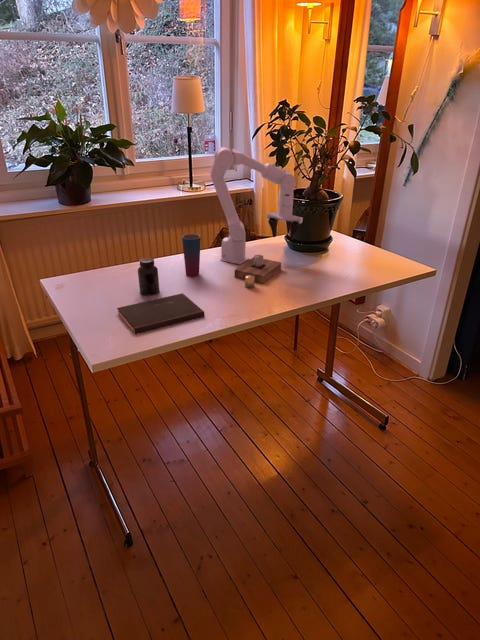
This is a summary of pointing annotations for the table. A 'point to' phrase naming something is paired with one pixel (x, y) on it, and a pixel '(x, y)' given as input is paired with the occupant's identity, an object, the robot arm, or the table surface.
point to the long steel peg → (258, 261)
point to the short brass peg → (249, 281)
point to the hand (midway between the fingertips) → (283, 238)
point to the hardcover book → (160, 313)
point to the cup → (191, 254)
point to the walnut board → (258, 270)
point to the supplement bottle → (148, 277)
